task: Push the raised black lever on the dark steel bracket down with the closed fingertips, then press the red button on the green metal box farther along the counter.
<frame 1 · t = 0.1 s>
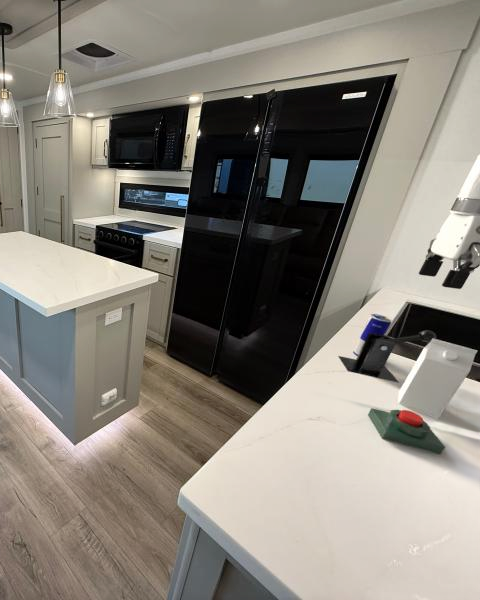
hand: (438, 281, 75), 32 cm above the countertop, tool pointing down, fingers open, 9 cm apart
beverage can: (361, 358, 101), on the countertop
milk carton: (415, 408, 80), on the countertop
button: (410, 418, 69), point 4 cm above the countertop, slide at 0.1 cm
bracket: (365, 371, 93), on the countertop
lever: (403, 339, 87), point 12 cm above the countertop, hinge at 28.0°
button box: (401, 433, 71), on the countertop
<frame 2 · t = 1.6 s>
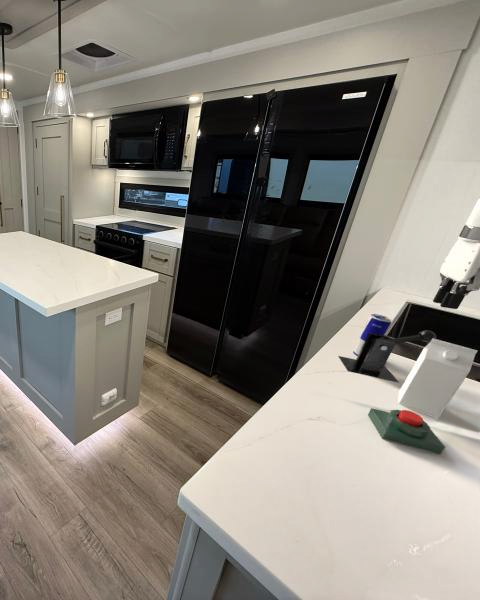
hand: (444, 304, 81), 24 cm above the countertop, tool pointing down, fingers closed
nothing on the countertop moved.
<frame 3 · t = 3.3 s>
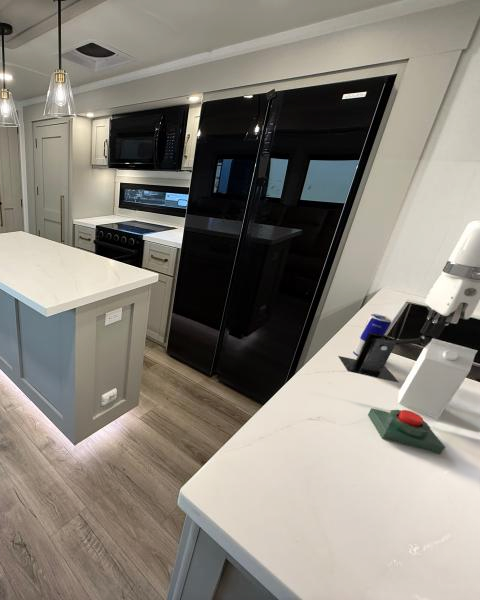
hand: (429, 334, 84), 15 cm above the countertop, tool pointing down, fingers closed
lever: (403, 341, 87), point 12 cm above the countertop, hinge at 20.6°, touching gripper
everything else where it was.
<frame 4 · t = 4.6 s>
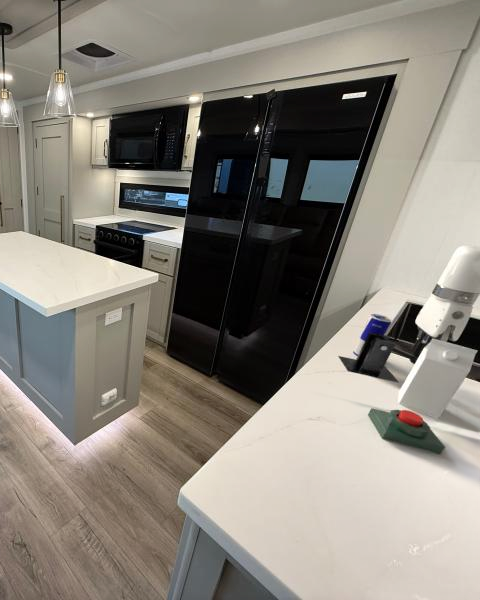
hand: (418, 354, 87), 9 cm above the countertop, tool pointing down, fingers closed
lever: (398, 351, 88), point 9 cm above the countertop, hinge at -15.7°, touching gripper
everything else where it was.
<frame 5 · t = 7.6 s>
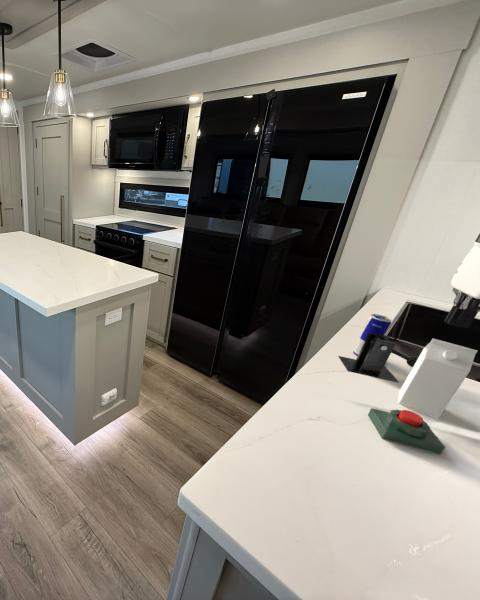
hand: (455, 324, 67), 25 cm above the countertop, tool pointing down, fingers closed
lever: (397, 352, 89), point 8 cm above the countertop, hinge at -21.5°
everything else where it was.
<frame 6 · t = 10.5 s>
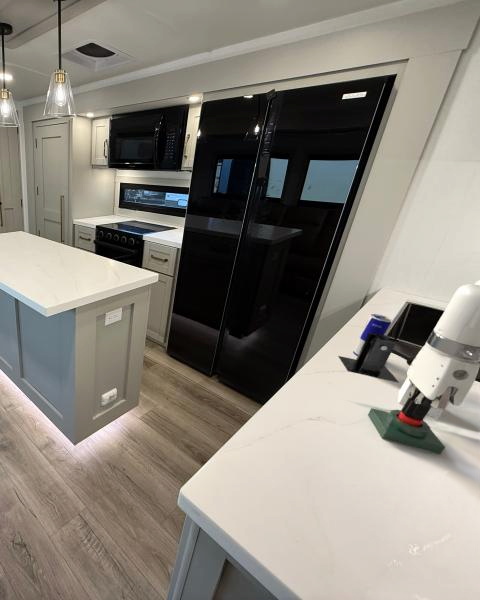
hand: (411, 415, 69), 5 cm above the countertop, tool pointing down, fingers closed
button: (410, 418, 69), point 4 cm above the countertop, slide at 0.1 cm, touching gripper
everything else where it was.
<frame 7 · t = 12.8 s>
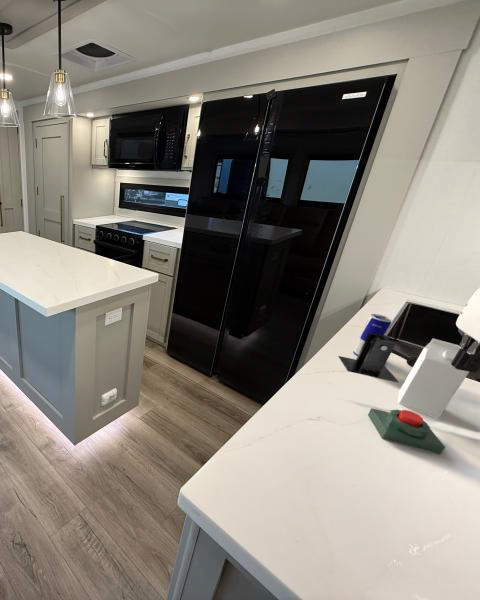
hand: (462, 368, 63), 19 cm above the countertop, tool pointing down, fingers closed
button: (410, 418, 69), point 4 cm above the countertop, slide at 0.1 cm
everything else where it was.
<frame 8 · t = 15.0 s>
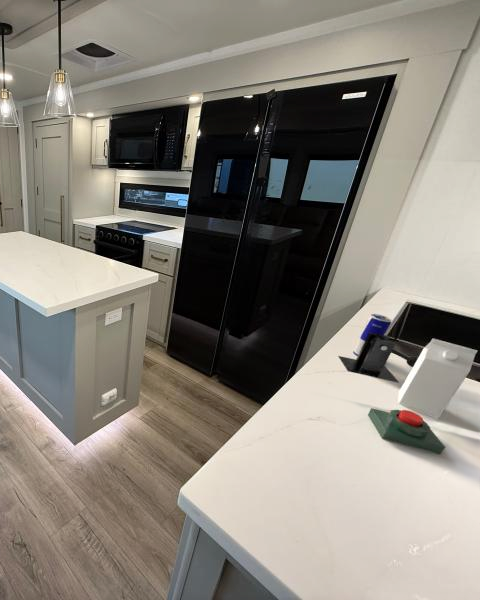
nothing on the countertop moved.
at the end: lever at -22° (first picture: +28°); button pushed in 1.1 cm at the most during the clip, back to where it started at the end; button slide at 0.1 cm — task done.
